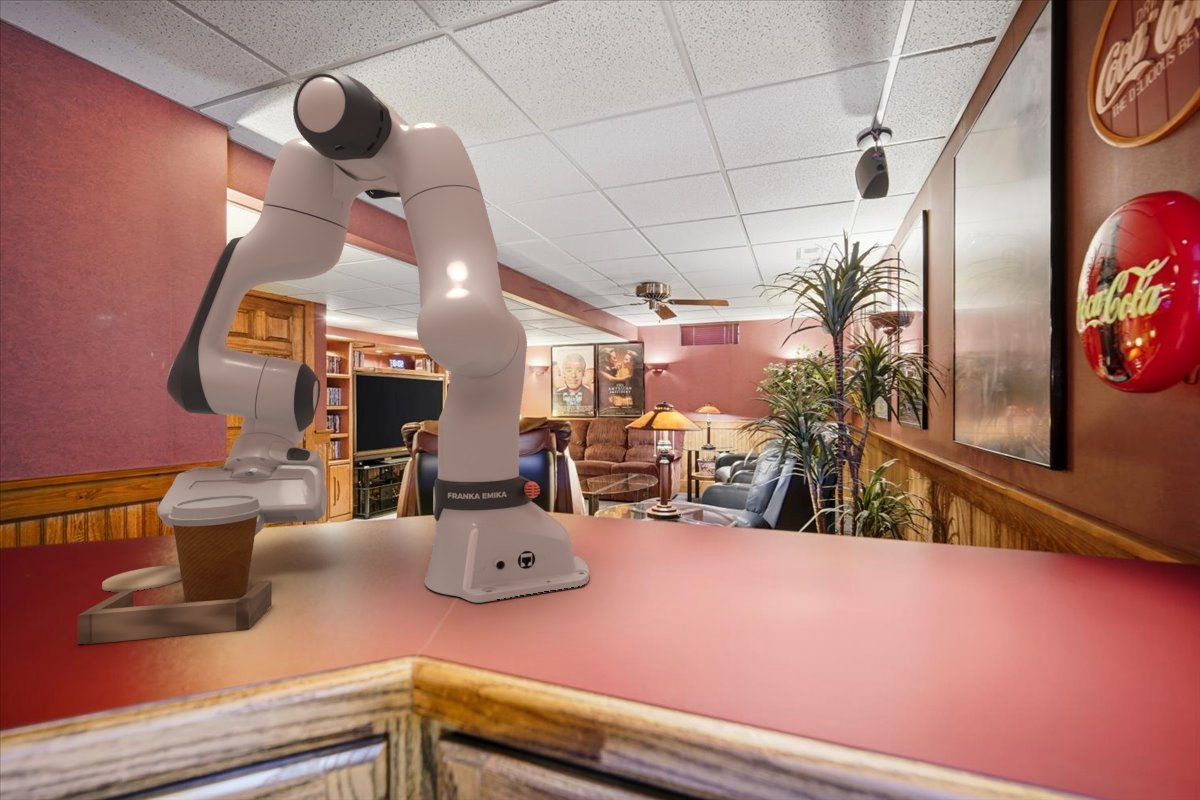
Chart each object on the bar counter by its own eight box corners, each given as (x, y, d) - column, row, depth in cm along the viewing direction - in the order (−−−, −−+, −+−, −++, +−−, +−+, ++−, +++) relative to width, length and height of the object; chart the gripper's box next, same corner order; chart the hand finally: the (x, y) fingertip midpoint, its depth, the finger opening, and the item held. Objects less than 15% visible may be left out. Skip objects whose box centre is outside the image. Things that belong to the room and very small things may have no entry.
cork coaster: (201, 567, 77) (201, 563, 77) (167, 588, 68) (167, 584, 68) (128, 572, 75) (128, 568, 75) (84, 594, 66) (84, 590, 66)
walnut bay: (271, 605, 63) (271, 580, 63) (248, 629, 56) (248, 601, 56) (120, 617, 59) (120, 591, 59) (77, 645, 53) (77, 615, 53)
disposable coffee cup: (214, 614, 60) (214, 510, 60) (146, 608, 62) (146, 507, 62) (279, 585, 70) (279, 495, 70) (218, 580, 71) (219, 493, 71)
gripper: (172, 454, 75) (129, 541, 65) (329, 452, 80) (310, 532, 70) (188, 480, 79) (150, 565, 70) (336, 477, 84) (319, 555, 75)
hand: (231, 548), depth 70 cm, fingers closed, pressing on disposable coffee cup
